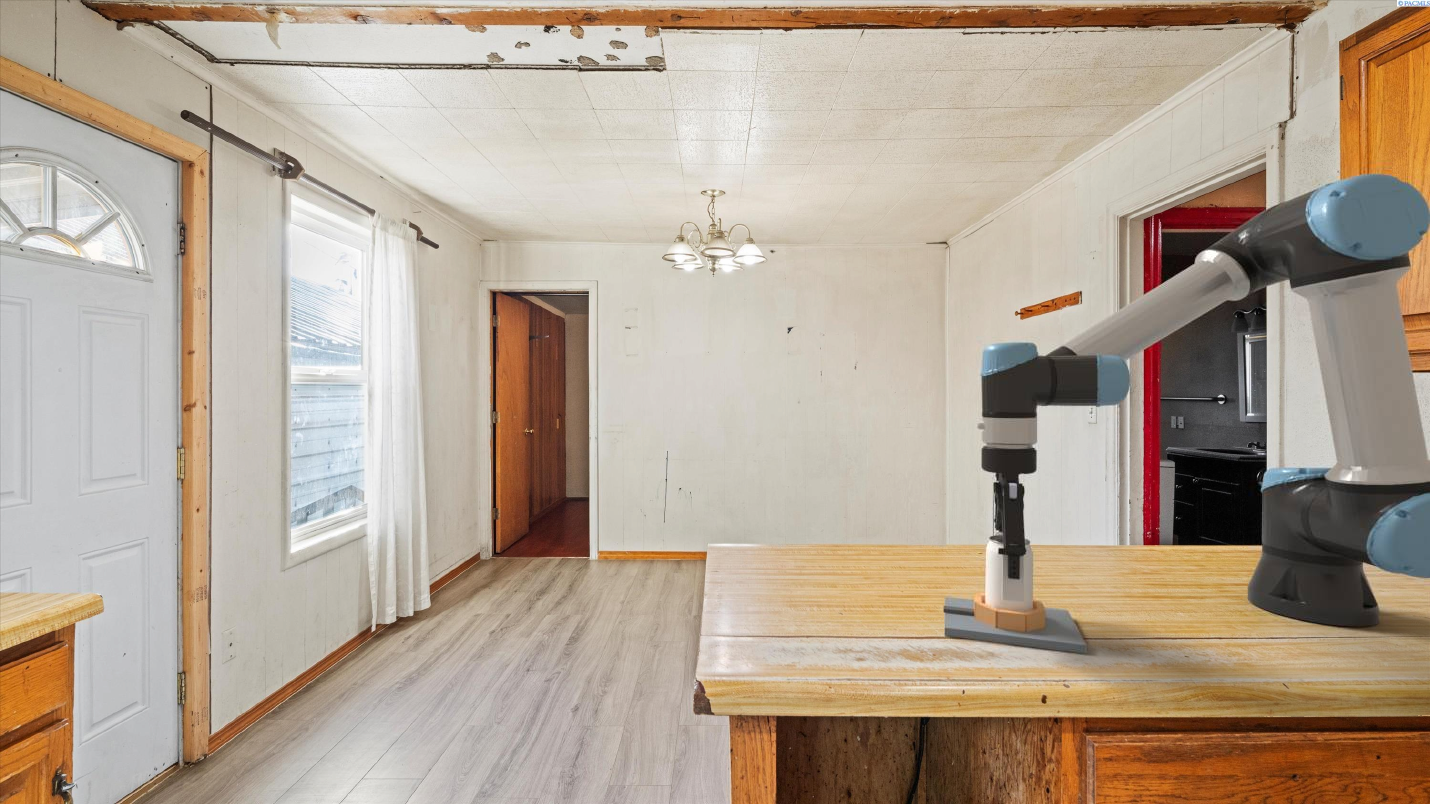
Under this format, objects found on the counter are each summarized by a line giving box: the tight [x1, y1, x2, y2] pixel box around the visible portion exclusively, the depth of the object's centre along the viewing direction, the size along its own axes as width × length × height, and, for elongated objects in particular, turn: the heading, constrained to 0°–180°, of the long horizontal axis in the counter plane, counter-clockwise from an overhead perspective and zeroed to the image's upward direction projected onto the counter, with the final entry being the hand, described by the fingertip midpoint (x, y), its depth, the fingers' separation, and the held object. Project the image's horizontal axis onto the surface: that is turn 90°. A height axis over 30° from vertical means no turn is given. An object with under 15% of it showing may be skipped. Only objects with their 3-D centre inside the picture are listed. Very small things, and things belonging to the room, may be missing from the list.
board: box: [943, 591, 1087, 655], centre depth 92 cm, size 18×14×4 cm
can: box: [984, 534, 1034, 612], centre depth 92 cm, size 6×6×12 cm
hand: (1008, 585), depth 92 cm, fingers open, 13 cm apart
